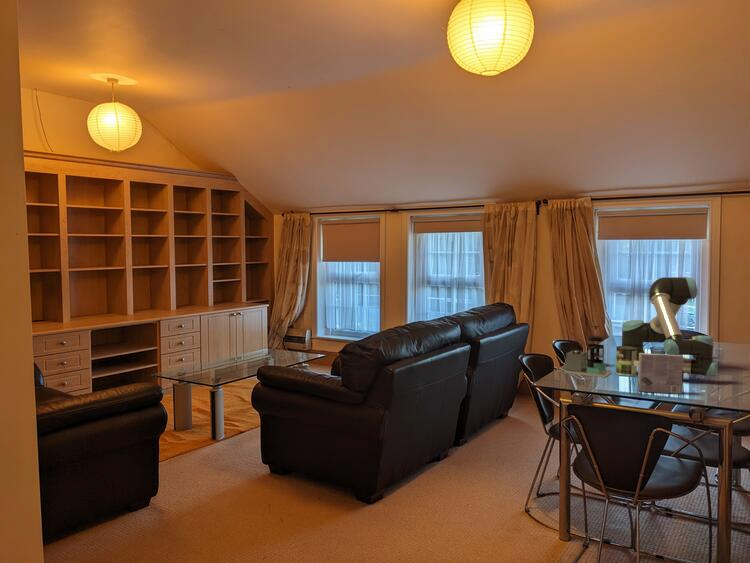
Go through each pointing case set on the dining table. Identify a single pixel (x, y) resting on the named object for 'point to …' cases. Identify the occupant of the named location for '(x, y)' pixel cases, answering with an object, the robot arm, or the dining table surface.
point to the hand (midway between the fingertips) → (636, 361)
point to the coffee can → (626, 360)
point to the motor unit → (583, 365)
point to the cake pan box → (660, 373)
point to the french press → (595, 350)
